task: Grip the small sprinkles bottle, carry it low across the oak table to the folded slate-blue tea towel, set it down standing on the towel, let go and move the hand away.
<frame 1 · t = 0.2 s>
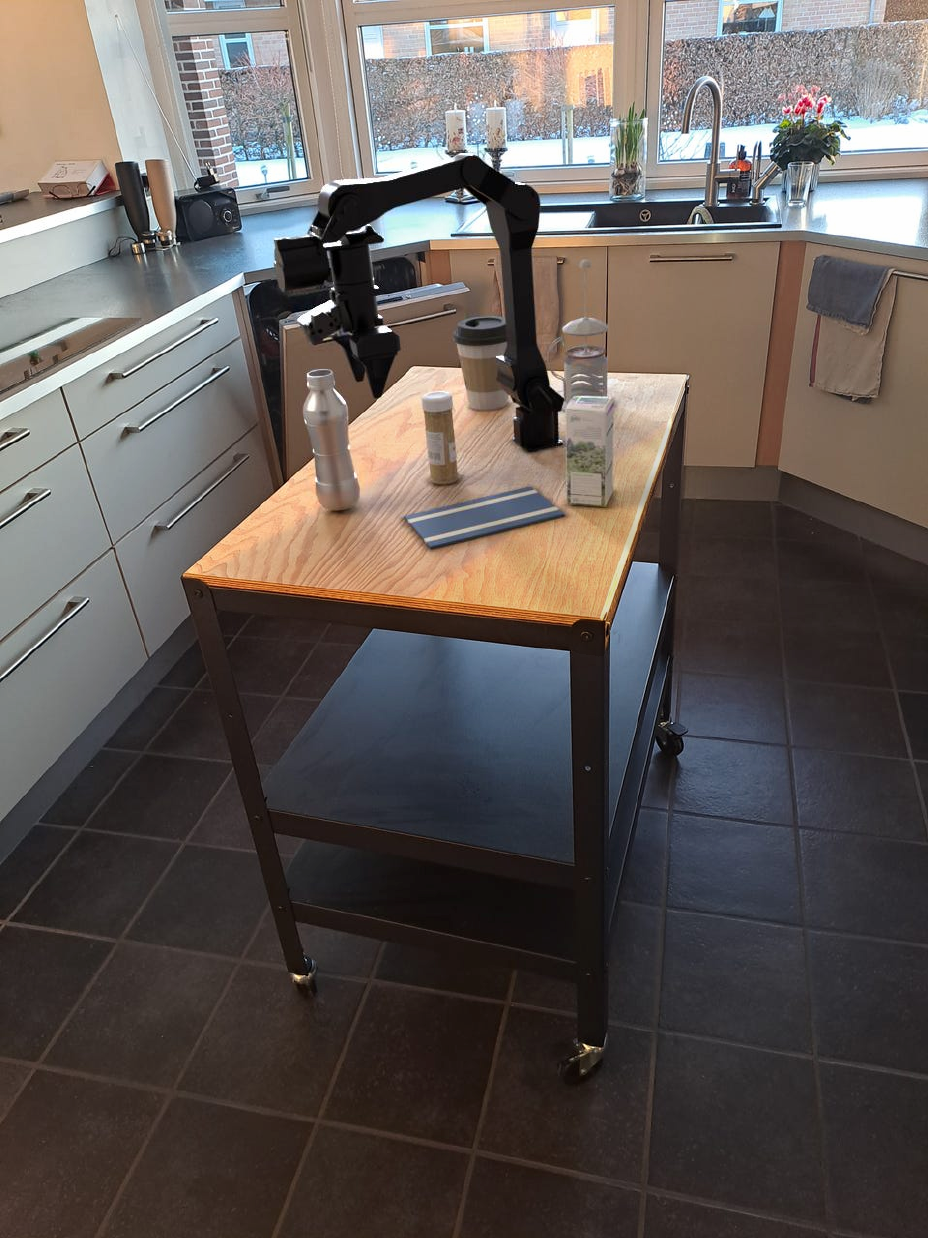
hand: (368, 389, 137), 14 cm above the table, tool pointing down, fingers open, 9 cm apart
french press: (580, 405, 168), on the table
syrup box: (590, 500, 133), on the table
sprinkles bottle: (444, 481, 143), on the table
coffee cup: (488, 405, 172), on the table
tea towel: (483, 517, 130), on the table
silver water bottle: (340, 507, 137), on the table
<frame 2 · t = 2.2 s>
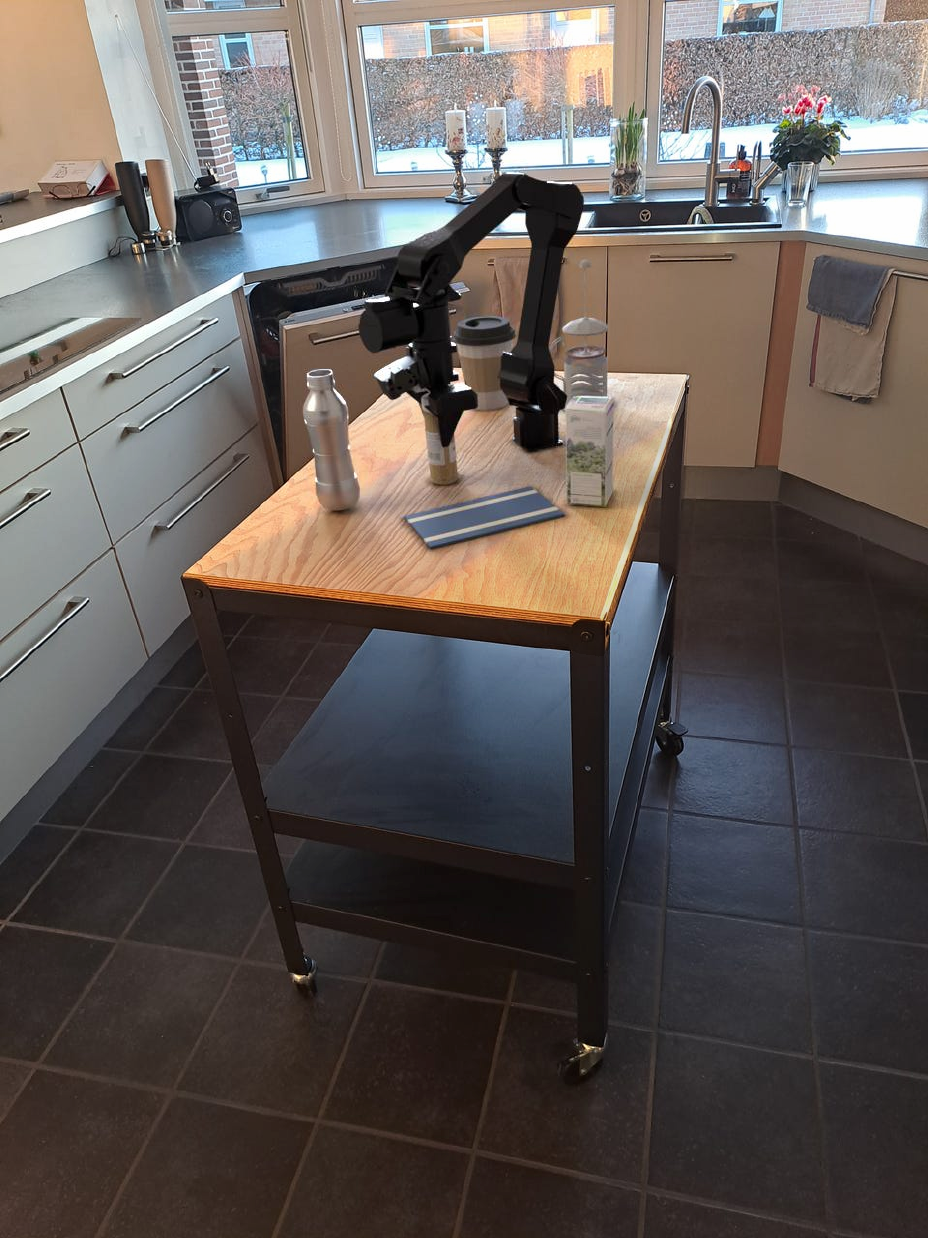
hand: (439, 441, 139), 6 cm above the table, tool pointing down, fingers closed on sprinkles bottle, 4 cm apart
sprinkles bottle: (444, 481, 143), on the table, touching gripper
everything else where it was.
when the fingers open (7 cm above the table, at t = 6.9 s): sprinkles bottle stays where it is, resting on tea towel.
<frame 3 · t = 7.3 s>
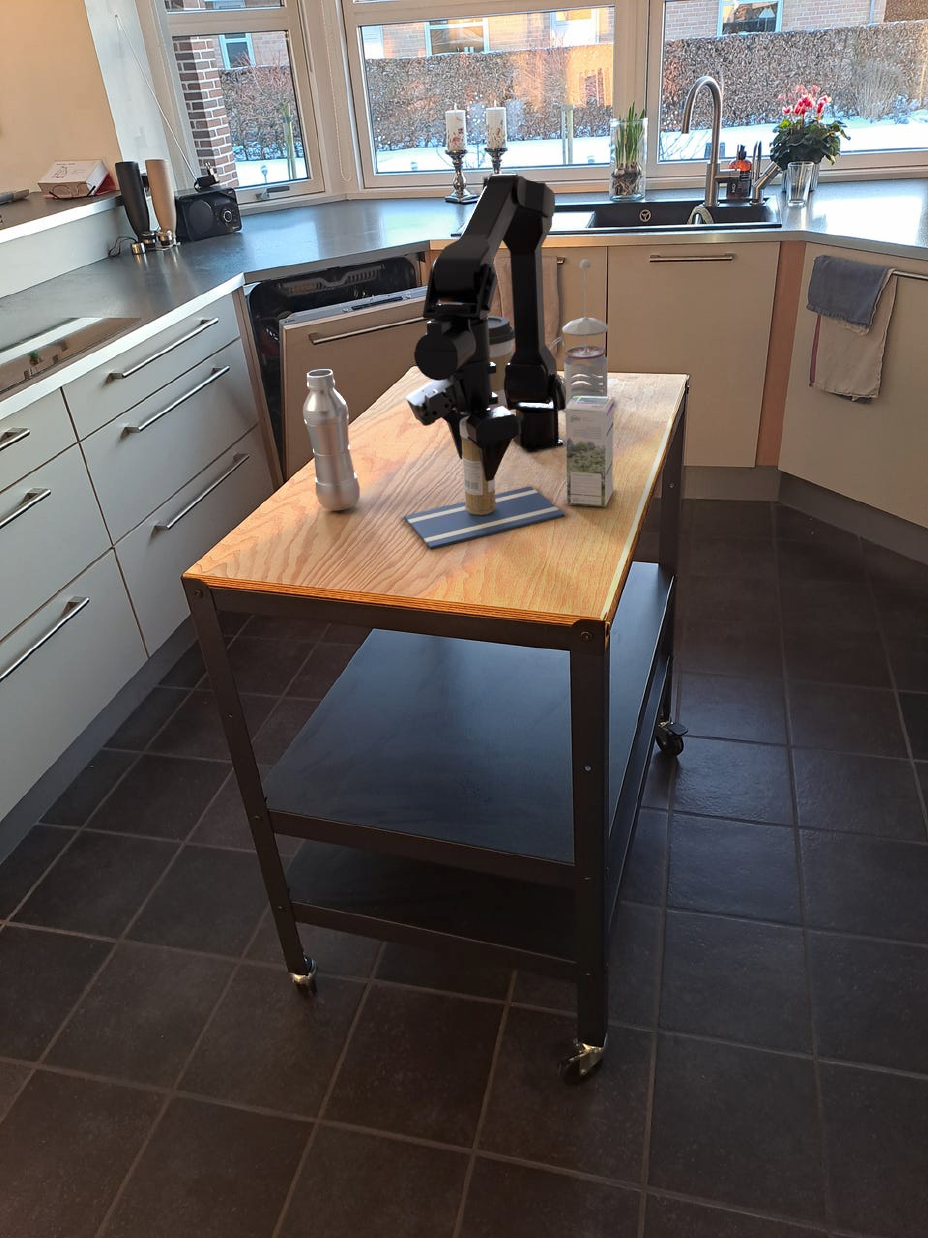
hand: (476, 469, 128), 7 cm above the table, tool pointing down, fingers open, 9 cm apart
sprinkles bottle: (480, 510, 131), resting on tea towel
everything else where it was.
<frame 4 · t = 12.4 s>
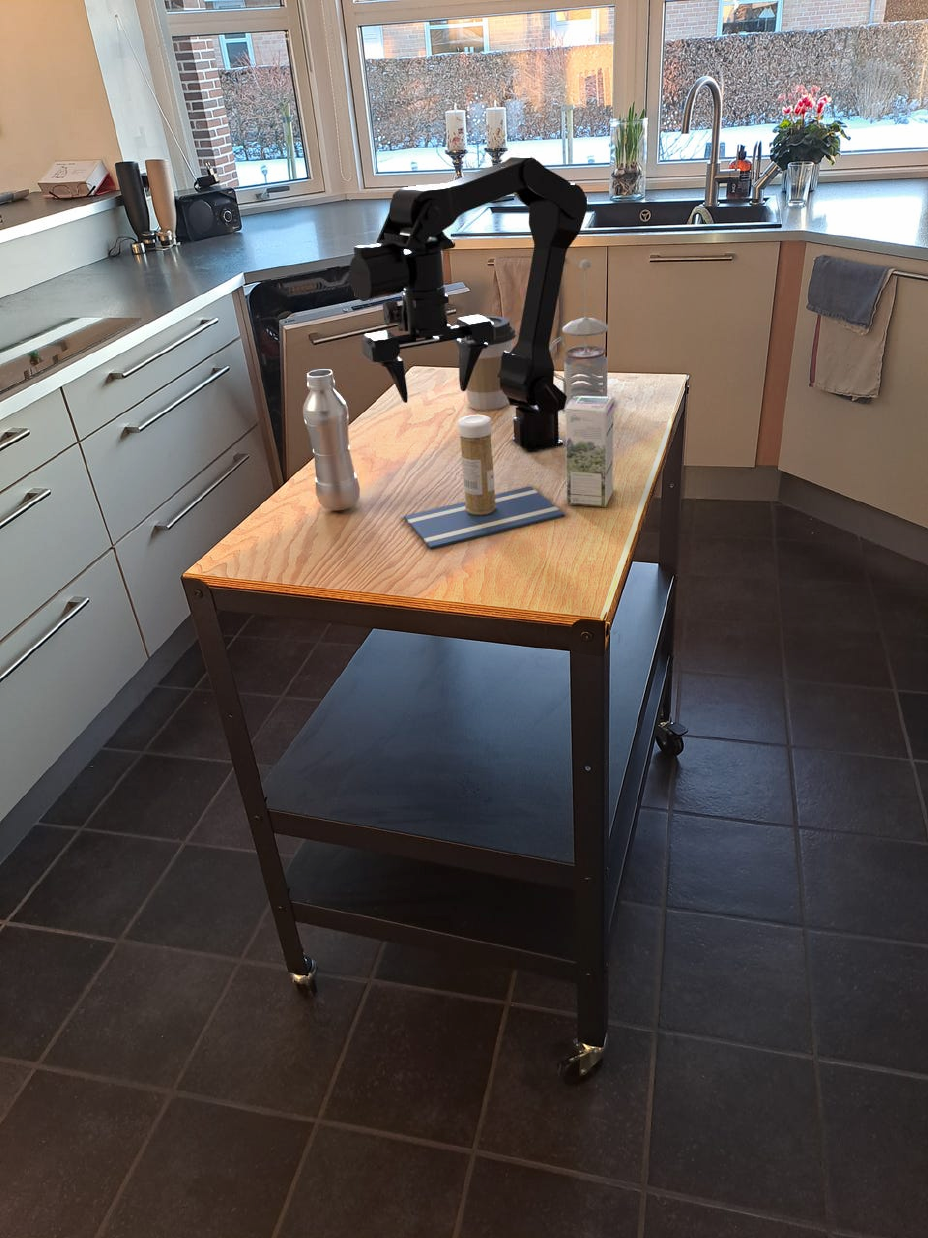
hand: (434, 396, 137), 13 cm above the table, tool pointing down, fingers open, 9 cm apart
nothing on the table moved.
at the end: sprinkles bottle 1.7 cm from the tea towel (horizontally); sprinkles bottle tilted 0°; the gripper is holding nothing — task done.
